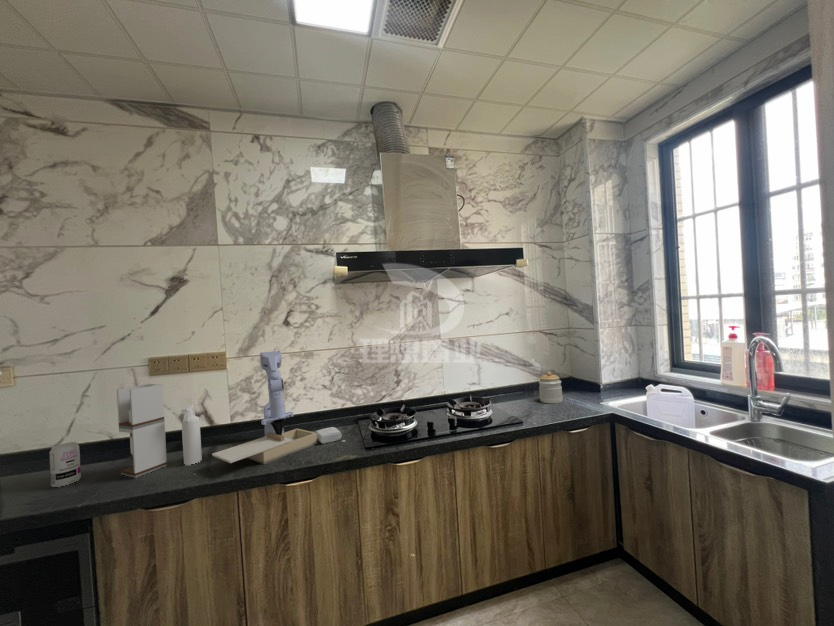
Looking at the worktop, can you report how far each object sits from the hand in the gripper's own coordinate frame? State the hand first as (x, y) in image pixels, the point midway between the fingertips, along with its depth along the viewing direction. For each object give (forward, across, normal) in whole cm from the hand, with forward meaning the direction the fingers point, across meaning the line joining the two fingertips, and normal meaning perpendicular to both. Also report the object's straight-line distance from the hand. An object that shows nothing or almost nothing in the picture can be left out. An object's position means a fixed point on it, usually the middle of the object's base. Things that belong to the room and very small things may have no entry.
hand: (279, 436), depth 155 cm
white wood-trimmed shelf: (+7, -41, +34) cm, 54 cm away
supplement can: (+7, -62, +50) cm, 80 cm away
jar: (+7, +128, -82) cm, 152 cm away
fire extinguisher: (+7, -26, +25) cm, 37 cm away
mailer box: (+7, +1, 0) cm, 7 cm away
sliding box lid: (+1, -12, 0) cm, 12 cm away
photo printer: (+4, +18, -14) cm, 23 cm away
